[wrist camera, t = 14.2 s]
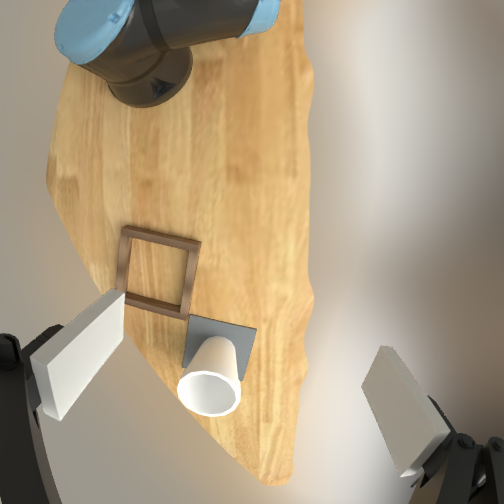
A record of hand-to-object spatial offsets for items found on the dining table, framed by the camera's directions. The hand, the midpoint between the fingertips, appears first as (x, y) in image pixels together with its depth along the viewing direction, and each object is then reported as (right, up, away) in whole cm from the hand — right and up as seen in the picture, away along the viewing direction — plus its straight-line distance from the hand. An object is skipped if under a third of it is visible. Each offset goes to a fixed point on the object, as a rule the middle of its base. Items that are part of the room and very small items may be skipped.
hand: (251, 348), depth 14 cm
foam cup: (-6, -13, +39) cm, 41 cm away
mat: (-6, -13, +39) cm, 42 cm away
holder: (-16, +1, +36) cm, 39 cm away
